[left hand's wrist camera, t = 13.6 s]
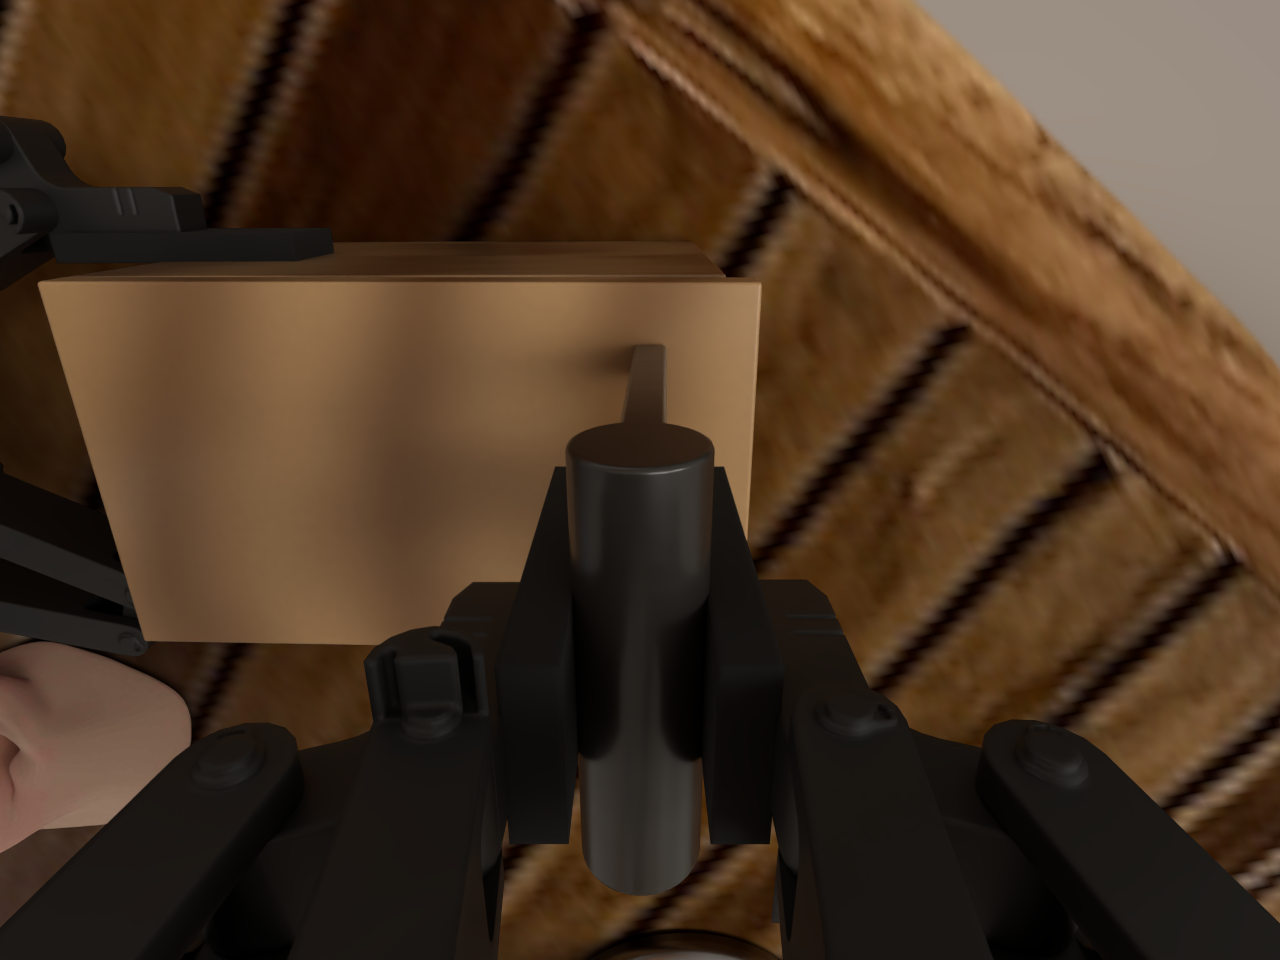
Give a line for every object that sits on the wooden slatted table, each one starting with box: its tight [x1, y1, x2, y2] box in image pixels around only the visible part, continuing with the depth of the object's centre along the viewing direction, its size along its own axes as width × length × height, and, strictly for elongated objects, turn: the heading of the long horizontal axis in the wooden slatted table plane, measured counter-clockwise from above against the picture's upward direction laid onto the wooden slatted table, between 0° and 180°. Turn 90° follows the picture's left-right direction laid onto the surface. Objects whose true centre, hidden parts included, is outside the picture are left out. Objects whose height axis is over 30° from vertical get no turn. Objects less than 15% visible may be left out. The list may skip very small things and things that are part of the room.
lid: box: [38, 277, 762, 896], centre depth 14 cm, size 16×9×9 cm, turn 90°
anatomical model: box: [0, 641, 191, 853], centre depth 33 cm, size 13×4×12 cm
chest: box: [71, 241, 726, 278], centre depth 24 cm, size 15×9×11 cm, turn 90°
